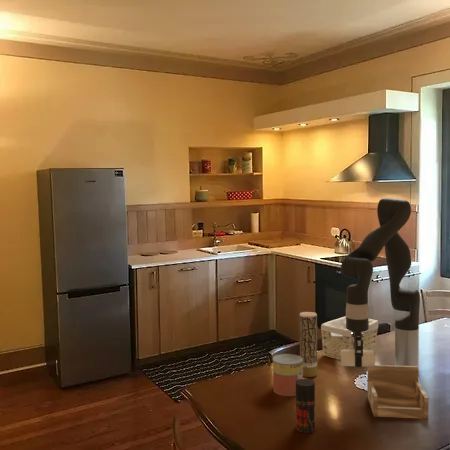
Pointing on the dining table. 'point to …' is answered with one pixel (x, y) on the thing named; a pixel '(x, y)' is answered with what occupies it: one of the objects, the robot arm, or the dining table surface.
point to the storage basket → (345, 337)
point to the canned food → (286, 373)
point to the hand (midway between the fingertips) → (357, 363)
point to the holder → (396, 392)
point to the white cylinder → (349, 358)
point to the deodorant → (305, 405)
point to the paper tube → (308, 343)
